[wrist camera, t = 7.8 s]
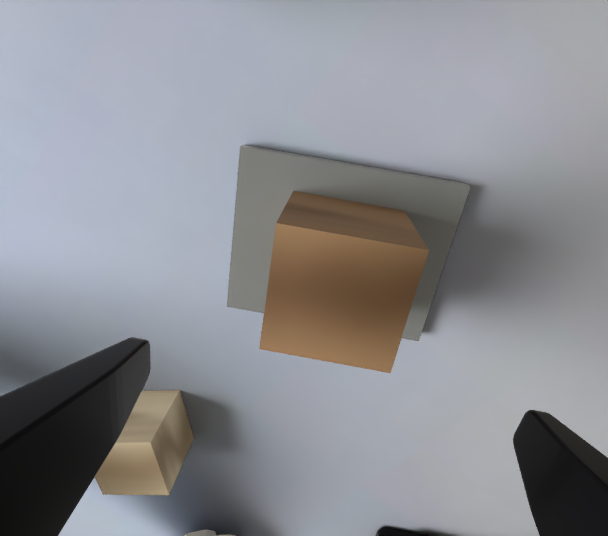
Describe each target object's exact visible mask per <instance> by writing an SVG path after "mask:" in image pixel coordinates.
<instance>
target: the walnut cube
mask: <svg viewBox="0 0 608 536" xmlns="http://www.w3.org/2000/svg"><path fill="white" fill-rule="evenodd" d="M428 252H429V249H428V248H427V246H426V245H425V243H424V241H423V240H422V238H421V236H420V235H419V233H418V232H417V230H416V228H415V227H414V225H413V224H412V222H411V220H410V219H409V217H408V215H407V214H406V212H405V211H404V210H399V209H393V208H388V207H382V206H376V205H371V204H365V203H359V202H354V201H348V200H342V199H337V198H331V197H325V196H320V195H314V194H308V193H303V192H297V191H293V192H292V194H291V196H290V198H289V200H288V202H287V204H286V205H285V207H284V209H283V211H282V213H281V215H280V217H279V218H278V220H277V222H276V227H275V235H274V242H273V250H272V258H271V265H270V273H269V280H268V288H267V295H266V303H265V311H264V318H263V326H262V333H261V341H260V348H259V349H263V350H268V351H274V352H279V353H284V354H290V355H295V356H301V357H306V358H312V359H317V360H323V361H328V362H333V363H339V364H344V365H350V366H355V367H361V368H366V369H372V370H377V371H382V372H388V373H391V369H392V366H393V363H394V360H395V357H396V354H397V350H398V347H399V344H400V341H401V338H402V334H403V331H404V328H405V325H406V322H407V319H408V315H409V312H410V309H411V306H412V303H413V300H414V296H415V293H416V290H417V287H418V284H419V281H420V277H421V274H422V271H423V268H424V265H425V262H426V258H427V255H428Z"/></svg>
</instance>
